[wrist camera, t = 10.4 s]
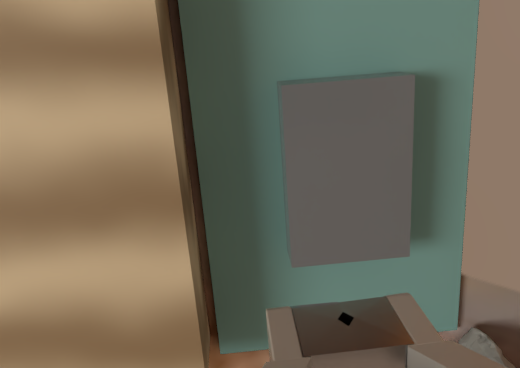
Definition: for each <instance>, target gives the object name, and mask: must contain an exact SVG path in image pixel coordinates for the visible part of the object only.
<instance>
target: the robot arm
mask: <svg viewBox="0 0 520 368" xmlns="http://www.w3.org/2000/svg"><path fill="white" fill-rule="evenodd" d="M266 322H267V334H268V345H269V357H270V362H266V363H265V364H264V366H263V367H262V368H507V367H505V366H503V365H501V364H499V363H497V362H495V361H493V360H491V359H489V358H487V357H484V356H482V355H480V354H478V353H476V352H474V351H472V350H470V349H468V348H466V347H464V346H462V345H460V344H458V343H456V342H454V341H452V340H449V341H444V340H443V339H442V337H441V336H440V335H439V333H438V332H437V330H436V329H435V328H434V326H433V325H432V323H431V322H430V321H429V319H428V318H427V316H426V315H425V314H424V312H423V311H422V309H421V308H420V307H419V305H418V304H417V302H416V301H415V299H414V298H413V297H412V295H411V294H409V293H400V294H393V295H387V296H383V297H375V298H368V299H360V300H352V301H344V302H329V303H318V304H308V305H297V306H290V307H289V306H286V307H277V308H268V309H266Z"/></svg>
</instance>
